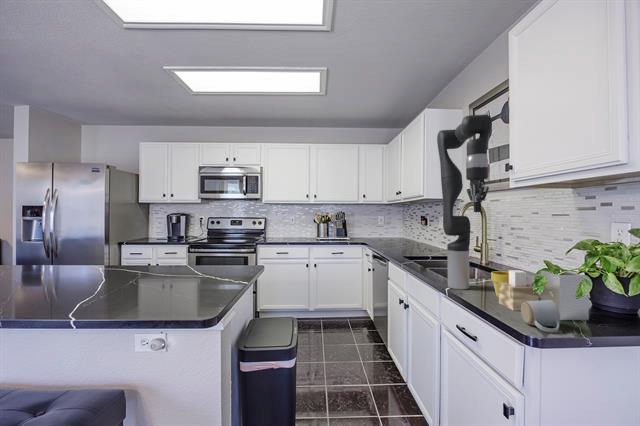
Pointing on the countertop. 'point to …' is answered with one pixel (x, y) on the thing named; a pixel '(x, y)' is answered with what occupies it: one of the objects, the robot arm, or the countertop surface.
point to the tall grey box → (566, 295)
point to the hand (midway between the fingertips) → (477, 212)
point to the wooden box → (516, 295)
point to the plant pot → (499, 279)
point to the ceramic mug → (541, 314)
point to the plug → (517, 278)
